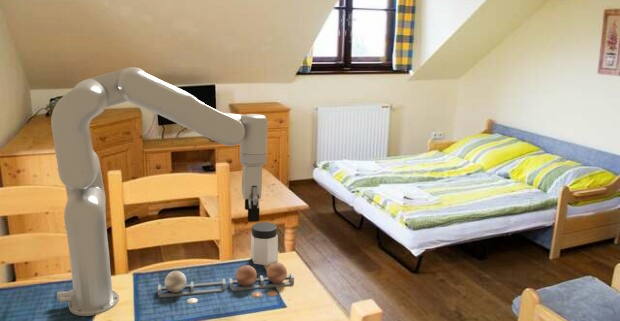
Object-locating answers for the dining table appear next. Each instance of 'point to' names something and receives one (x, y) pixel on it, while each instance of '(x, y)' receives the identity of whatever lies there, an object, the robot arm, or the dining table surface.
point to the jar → (264, 243)
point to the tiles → (255, 294)
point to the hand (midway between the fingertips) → (251, 215)
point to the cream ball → (175, 281)
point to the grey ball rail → (224, 286)
